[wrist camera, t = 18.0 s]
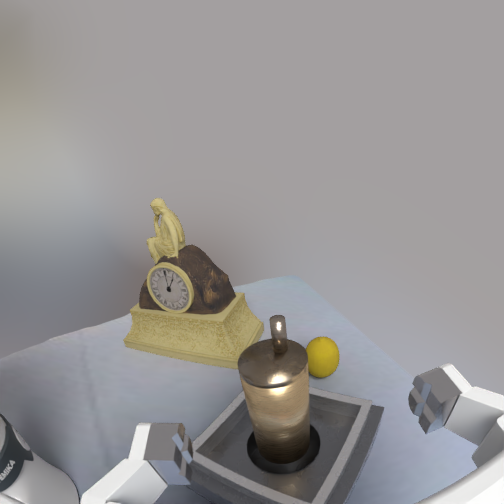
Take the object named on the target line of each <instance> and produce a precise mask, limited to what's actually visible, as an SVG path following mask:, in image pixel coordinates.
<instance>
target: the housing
mask: <svg viewBox="0 0 504 504" xmlns="http://www.w3.org/2000/svg"><path fill="white" fill-rule="evenodd" d="M383 411H384V407H380V406H375V405H372V401H370V400H365V399H360V398H355V397H350V396H346V395H341V394H337V393H332V392H328V391H324V390H320V389H316V388H312V387H309V416H310V445H309V449H308V451H307V452H306V454H305V455H304V456H303V457H302V458H300V459H299V460H297V461H295V462H292V463H288V464H275V463H272V462H269V461H267V460H266V459H264V458H263V457H262V456H261V454H260V453H259V450H258V446H257V442H256V439H255V435H254V431H253V427H252V423H251V419H250V415H249V411H248V407H247V403H246V399H245V395H244V391H242V392H241V393H240V394H239V395H238V396H237V397H236V398H235V400H234V401H233V402H232V403H231V404H230V405H229V406H228V407H227V408H226V409H225V410H224V411H223V412H222V413H221V414H220V415H219V416H218V417H217V419H216V420H215V421H214V422H213V423H212V424H211V425H210V426H209V427H208V428H207V429H206V430H205V431H204V432H203V433H202V434H201V435H200V436H199V437H198V438H197V439H196V440H195V441H194V442H193V443H192V447H193V460H192V461H191V462H190V463H189V466H190V467H191V469H192V477H191V485H186V486H187V487H188V488H190V489H192V490H193V491H195V492H196V493H198V494H200V495H201V496H203V497H205V498H206V499H208V500H210V501H211V502H213V503H215V504H346V502H347V500H348V498H349V496H350V494H351V492H352V490H353V488H354V486H355V484H356V482H357V480H358V478H359V475H360V473H361V471H362V469H363V467H364V464H365V462H366V460H367V457H368V455H369V452H370V450H371V448H372V445H373V442H374V440H375V437H376V435H377V432H378V428H379V425H380V421H381V418H382V414H383Z"/></svg>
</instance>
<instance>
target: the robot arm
mask: <svg viewBox="0 0 504 504" xmlns="http://www.w3.org/2000/svg"><path fill="white" fill-rule="evenodd" d="M413 385H414V388H413V389H412V390H411V392H410V394H409V398H408V399H409V406H410V409H411V411H412V412H413V414H414V415H416V416H419V424H420V425H421V427H422V429H423V430H424V432H425V434H428V433H430V432H433V431H435V430H437V429H439V428H441V427H443V426H444V427H445V428H446V429H448V430H450V431H452V432H454V433H455V434H457V435H459V436H461V437H463V438H465V439H467V440H468V441H470V442H472V443H474V444H476V445H478V446H479V447H478V448H477V449H476V451H475V452H474V453H473V455H472V460H473V461H474V463H475V464H476V466H477V469H476V470H474V471H472V472H471V473H469V474H468V475H466V476H465V477H463V478H461V479H460V480H458V481H456V482H455V483H453V484H451V485H450V486H448V487H446V488H444V489H442V490H441V491H439V492H437V493H435V494H433V495H431V496H429V497H427V498H425V499H423V500H421V501H419V502H417V503H415V504H504V396H503V395H500V394H496V393H494V392H491V391H487V390H484V389H482V388H479V387H473V388H472V386H471V385H470V384H469V383H468V382H467V381H466V380H465V378H464V377H463V376H462V375H461V374H460V373H459V372H458V371H457V370H456V368H455V367H454V366H453V365H452V364H450V363H447V364H445V365H443V366H441V367H438V368H435V369H432V370H430V371H428V372H425V373H423V374H421V375H418V376H416V377H415V378H414V381H413ZM192 460H193V447H192V443H191V440H190V438H189V436H188V435H186V434H185V428H184V426H183V424H182V423H139V424H138V425H137V427H136V430H135V434H134V438H133V442H132V445H131V449H130V453H129V457H128V459H123V460H122V461H121V462H120V463H119V464H118V465H117V466H115V467H114V468H113V469H112V470H111V471H110V472H109V473H107V474H106V475H105V476H104V477H103V478H102V479H101V480H99V481H98V482H97V483H96V484H95V485H93V486H92V487H91V488H90V489H89V490H87V491H86V492H85V493H84V494H83V495H82V499H81V502H80V504H154V503H155V501H156V500H157V499H158V498H159V496H160V495H161V494H162V493H163V491H164V490H165V489H166V488H167V486H168V485H191V477H192V469H191V467H190V466H189V463H190V462H191V461H192ZM0 504H79V498H78V493H77V490H76V487H75V485H74V483H73V481H72V480H71V479H70V477H69V476H68V475H67V474H66V473H64V472H63V471H62V470H60V469H58V468H56V467H54V466H52V465H50V464H49V463H47V462H46V461H44V460H43V459H42V458H40V457H39V456H38V455H37V454H35V453H34V452H33V451H32V450H31V449H30V447H29V445H28V444H27V443H26V441H25V440H24V439H23V438H22V436H21V435H20V434H19V433H18V432H17V430H16V429H15V428H14V427H13V426H12V425H11V424H10V423H9V422H8V421H7V420H6V418H5V417H4V416H3V415H2V414H0Z"/></svg>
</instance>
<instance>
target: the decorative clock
mask: <svg viewBox="0 0 504 504" xmlns="http://www.w3.org/2000/svg"><path fill="white" fill-rule="evenodd" d="M150 206H151V207H152V209H153V211H154V214H155V216H154V227H155V232H156V235H157V236H156V237H151V238H149V239H147V245H148V247H149V251H150V253H151V257H152V258H153V259H154V261H155V264H156V265H155V266H154V267H153V268H152V269H151V270H150V271H149V273H148V276H147V279H146V281H145V282H144V284H143V286H142V288H141V292H140V301H139V303H138V304H137V305H136V306H134V307H133V308H132V309H131V310H130V312H131V315H132V327H131V330H130V332H129V333H128V335H127V336H126V338H125V339H124V340H123V341H124V343H125V345H126V347H129V348H133V349H137V350H141V351H145V352H149V353H153V354H158V355H162V356H167V357H171V358H176V359H181V360H186V361H191V362H196V363H202V364H208V365H213V366H219V367H226V368H232V369H238V358H239V356H240V355H241V353H242V352H243V351H244V350H245V349H246V348H247V347H249V346H251V345H252V344H254V343H257V342H258V340H259V338H260V336H261V335H262V333H263V331H264V326H263V322H260V320H259V319H258V318H257V317H256V316H255V315H254V314H253V313H252V312H251V310H250V309H249V308H248V306H247V303H246V300H245V296H244V293H235V292H234V290H233V288H232V286H231V284H230V282H229V278H228V275H227V274H225V273H224V272H223V271H222V270H221V269H219V268H218V267H217V266H216V265H215V264H214V263H213V262H212V261H211V259H210V258H209V257H208V256H207V255H206V253H204V252H203V251H202V250H201V249H200V248H198V247H196V246H194V245H188V246H186V245H185V235H184V231H183V228H182V226H181V223H180V221H179V219H178V218H177V216H176V215H175V214H174V213H173V212H172V211H171V210H170V209H168V208H167V206H166V204H165V202H164V200H162V199H160V198H155V199H154V200H153V201H152V202H151V205H150ZM160 214H161V215H162V217H161V226H160V227H159V225H158V220H159V215H160Z"/></svg>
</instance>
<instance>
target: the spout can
mask: <svg viewBox="0 0 504 504" xmlns="http://www.w3.org/2000/svg"><path fill="white" fill-rule="evenodd" d="M270 327H271V335H272V339H267V340H263V341H259V342H257V343H254V344H252V345H251V346H249V347H247V348H246V349H245V350H244V351H243V352H242V353H241V355H240V356H239V358H238V370H239V374H240V378H241V382H242V387H243V391H244V395H245V399H246V403H247V407H248V411H249V415H250V419H251V423H252V427H253V431H254V435H255V439H256V442H257V446H258V450H259V453H260V454H261V456H262V457H263V458H264V459H266V460H267V461H269V462H272V463H275V464H288V463H292V462H295V461H297V460H299V459H300V458H302V457H303V456H304V455H305V454H306V452H307V451H308V449H309V445H310V416H309V373H308V354H307V352H306V350H305V348H304V347H303V346H302V345H300V344H299V343H297V342H295V341H292V340H288V339H287V333H286V323H285V317H284V316H282V315H275V316H272V317H271V318H270Z"/></svg>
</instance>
